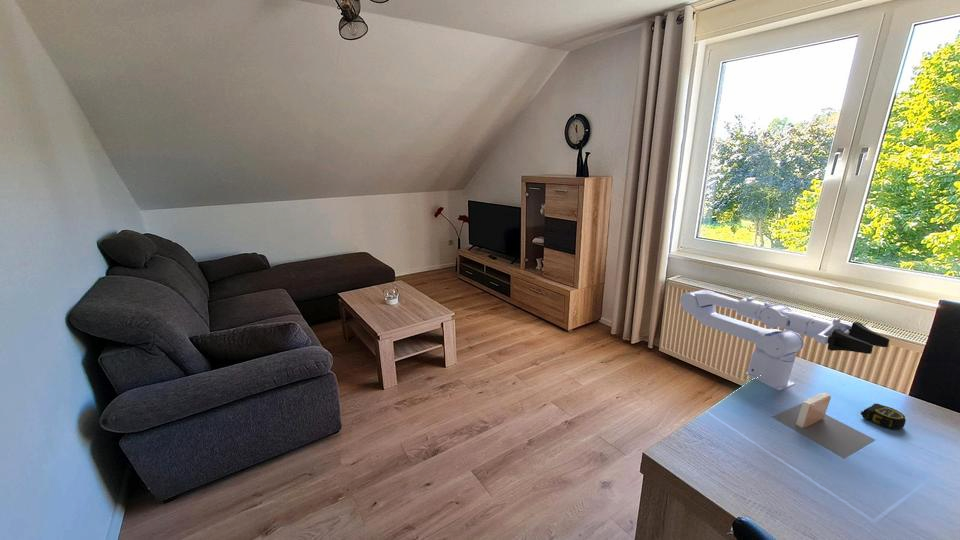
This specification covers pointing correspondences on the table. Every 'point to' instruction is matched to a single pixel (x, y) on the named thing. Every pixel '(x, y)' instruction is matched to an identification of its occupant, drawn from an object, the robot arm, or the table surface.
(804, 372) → the table surface
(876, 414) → the tape measure
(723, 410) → the table surface
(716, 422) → the table surface
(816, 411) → the cream rectangular panel
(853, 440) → the mat
